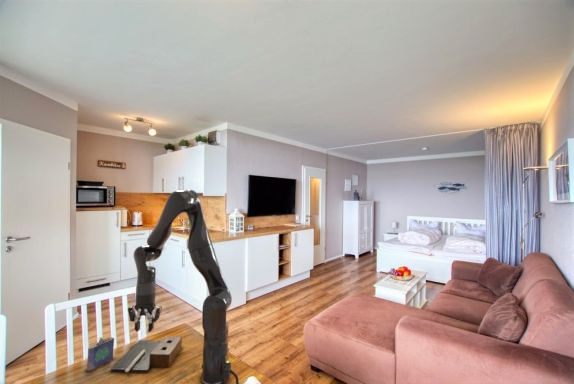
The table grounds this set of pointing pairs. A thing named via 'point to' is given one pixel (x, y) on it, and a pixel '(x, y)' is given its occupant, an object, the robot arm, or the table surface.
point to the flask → (100, 353)
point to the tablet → (143, 362)
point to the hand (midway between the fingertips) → (144, 330)
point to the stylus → (135, 361)
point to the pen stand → (165, 351)
